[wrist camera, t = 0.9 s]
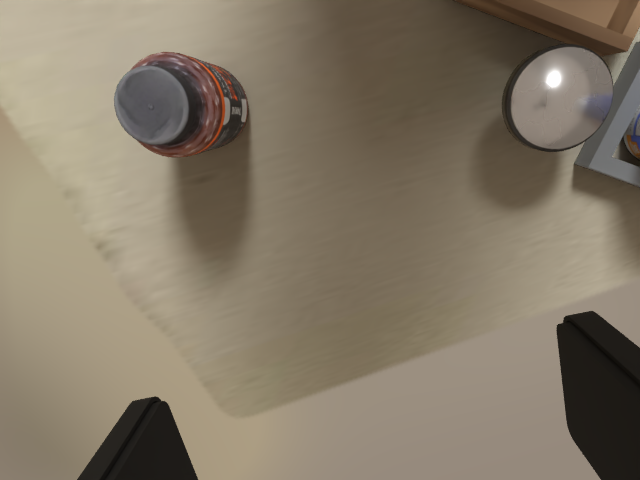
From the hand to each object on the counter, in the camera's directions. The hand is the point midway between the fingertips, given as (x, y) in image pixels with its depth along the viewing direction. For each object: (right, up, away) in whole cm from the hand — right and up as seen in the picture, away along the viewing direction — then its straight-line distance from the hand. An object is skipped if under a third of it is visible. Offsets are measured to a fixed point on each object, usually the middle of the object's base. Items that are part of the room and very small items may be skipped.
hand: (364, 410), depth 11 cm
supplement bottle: (-9, +14, +24) cm, 29 cm away
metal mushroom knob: (+14, +14, +22) cm, 30 cm away
